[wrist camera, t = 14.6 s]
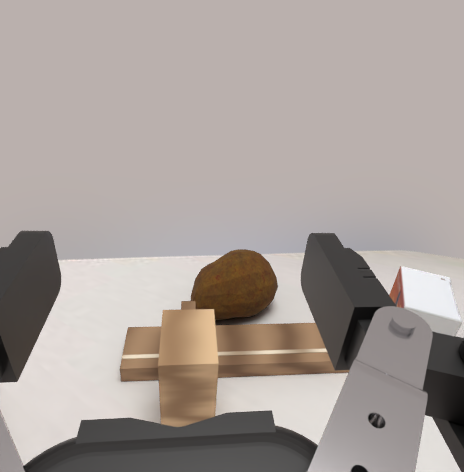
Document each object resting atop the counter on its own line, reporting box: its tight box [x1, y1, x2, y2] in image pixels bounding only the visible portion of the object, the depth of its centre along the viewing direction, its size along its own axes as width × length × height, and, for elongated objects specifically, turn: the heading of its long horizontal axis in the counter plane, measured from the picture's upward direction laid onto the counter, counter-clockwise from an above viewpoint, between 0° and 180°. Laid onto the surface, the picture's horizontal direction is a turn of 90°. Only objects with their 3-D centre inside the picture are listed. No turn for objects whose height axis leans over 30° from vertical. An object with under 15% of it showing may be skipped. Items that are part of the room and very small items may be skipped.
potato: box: [191, 250, 278, 320], centre depth 49 cm, size 8×12×9 cm
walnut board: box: [120, 323, 349, 381], centre depth 43 cm, size 26×6×2 cm, turn 96°
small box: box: [389, 266, 462, 336], centre depth 43 cm, size 8×6×10 cm
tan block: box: [158, 301, 219, 427], centre depth 36 cm, size 4×12×12 cm, turn 6°
